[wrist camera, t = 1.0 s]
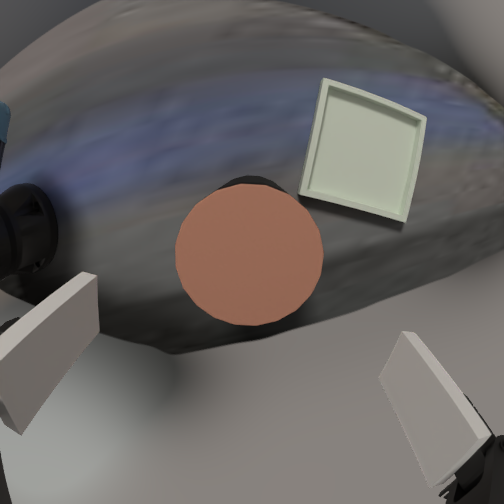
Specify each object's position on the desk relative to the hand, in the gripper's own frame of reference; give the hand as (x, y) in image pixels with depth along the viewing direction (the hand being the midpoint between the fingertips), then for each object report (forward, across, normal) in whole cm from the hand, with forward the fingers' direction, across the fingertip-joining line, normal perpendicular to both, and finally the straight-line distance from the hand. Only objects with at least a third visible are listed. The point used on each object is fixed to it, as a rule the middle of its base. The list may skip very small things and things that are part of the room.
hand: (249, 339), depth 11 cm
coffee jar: (+28, 0, 0) cm, 28 cm away
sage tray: (+28, +13, +12) cm, 33 cm away
